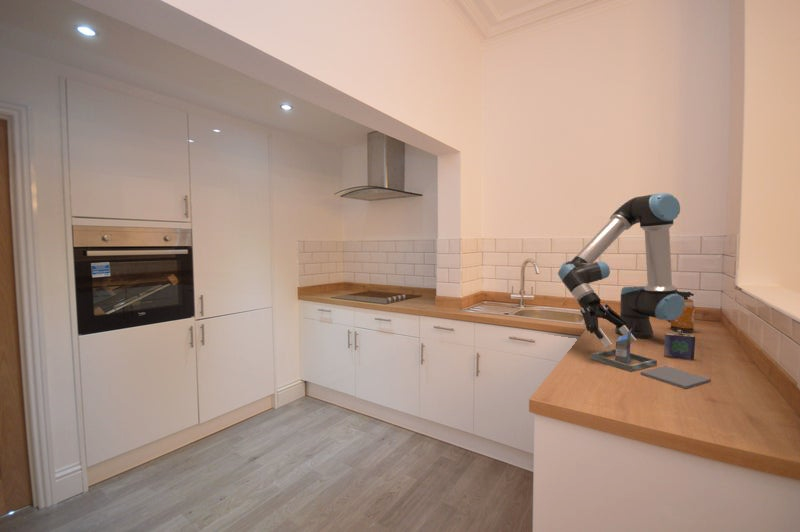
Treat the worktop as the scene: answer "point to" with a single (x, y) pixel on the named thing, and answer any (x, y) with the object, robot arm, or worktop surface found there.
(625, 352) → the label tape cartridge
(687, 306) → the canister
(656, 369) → the mat
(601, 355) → the holder
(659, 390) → the worktop surface
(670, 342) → the flask
